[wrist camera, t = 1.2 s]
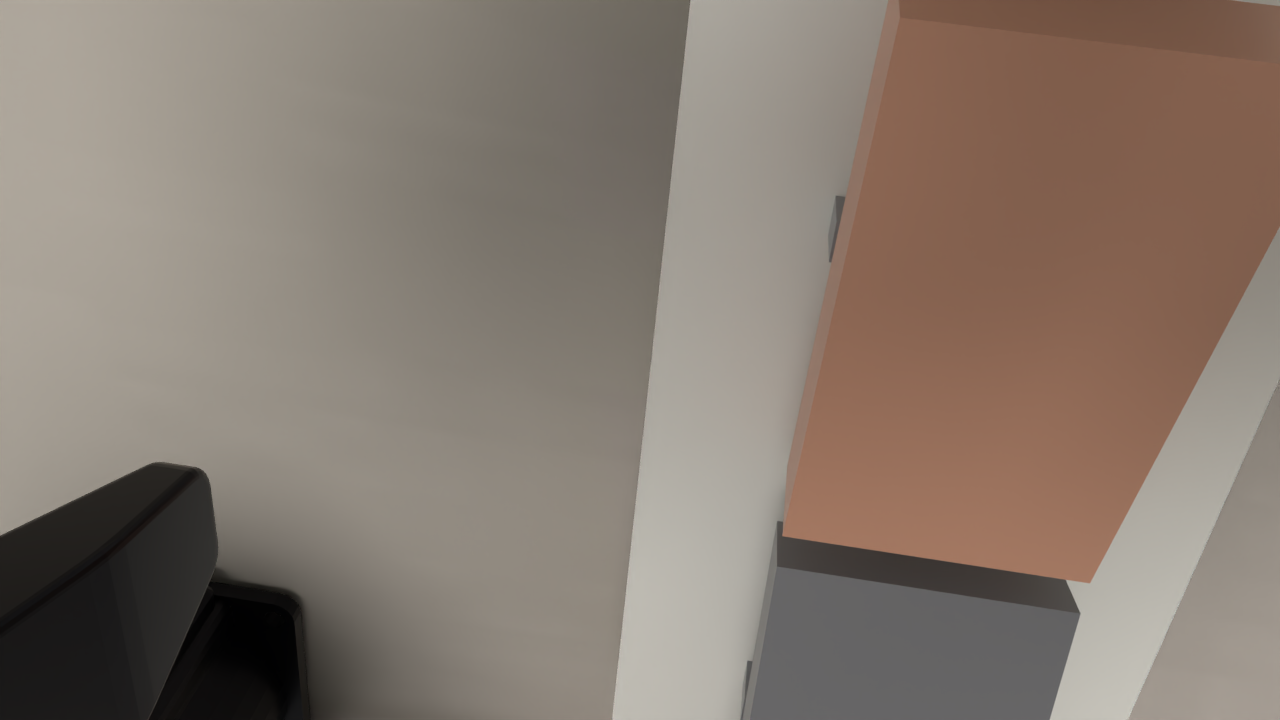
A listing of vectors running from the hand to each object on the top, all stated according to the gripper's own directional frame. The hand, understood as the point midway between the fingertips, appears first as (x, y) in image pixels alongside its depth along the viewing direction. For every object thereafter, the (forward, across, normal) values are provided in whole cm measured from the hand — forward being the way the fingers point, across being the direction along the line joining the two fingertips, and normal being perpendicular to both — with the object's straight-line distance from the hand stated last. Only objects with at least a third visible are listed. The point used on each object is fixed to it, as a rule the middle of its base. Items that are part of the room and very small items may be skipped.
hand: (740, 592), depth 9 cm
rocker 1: (+7, -3, 0) cm, 8 cm away
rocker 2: (+7, -3, +9) cm, 12 cm away
